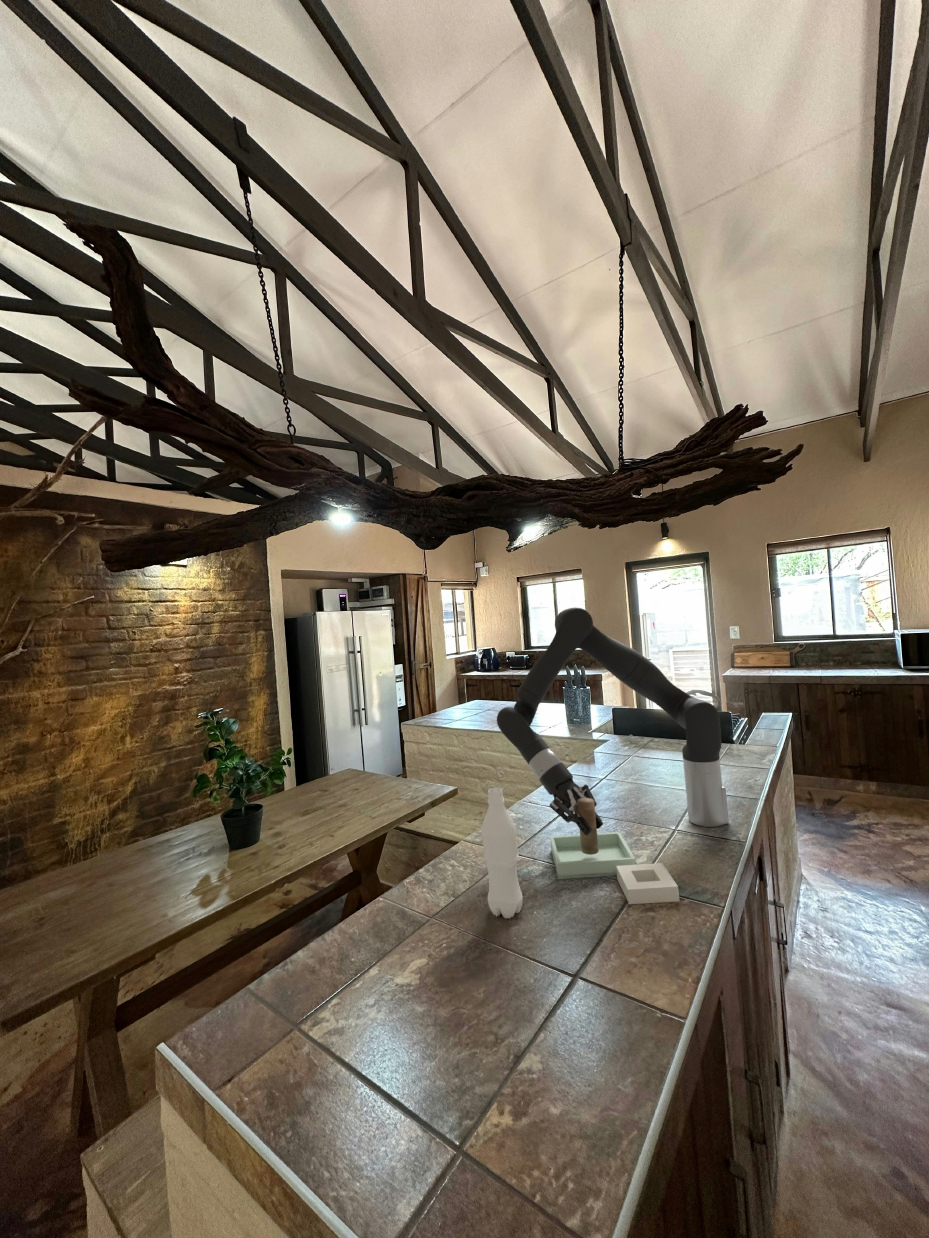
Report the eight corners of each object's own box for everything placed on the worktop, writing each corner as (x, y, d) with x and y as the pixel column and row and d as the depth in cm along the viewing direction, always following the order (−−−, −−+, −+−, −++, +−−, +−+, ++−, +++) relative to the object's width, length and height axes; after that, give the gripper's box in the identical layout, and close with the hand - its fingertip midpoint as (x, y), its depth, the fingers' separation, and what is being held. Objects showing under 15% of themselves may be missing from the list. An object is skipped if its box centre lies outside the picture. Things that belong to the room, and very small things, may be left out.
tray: (620, 845, 130) (619, 832, 130) (637, 874, 115) (635, 858, 115) (551, 850, 131) (550, 836, 131) (558, 879, 116) (557, 863, 116)
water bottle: (483, 917, 103) (471, 794, 104) (497, 899, 110) (486, 783, 110) (515, 924, 100) (504, 797, 100) (528, 905, 106) (517, 785, 107)
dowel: (596, 846, 125) (592, 797, 125) (600, 853, 121) (595, 803, 121) (580, 847, 125) (575, 798, 125) (583, 854, 121) (578, 804, 121)
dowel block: (663, 876, 113) (661, 862, 113) (679, 901, 103) (678, 886, 103) (617, 879, 114) (616, 865, 114) (629, 904, 104) (627, 889, 104)
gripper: (539, 769, 124) (586, 831, 115) (574, 755, 133) (620, 811, 124) (525, 787, 128) (568, 848, 119) (560, 772, 137) (603, 828, 128)
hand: (594, 829), depth 121 cm, fingers closed on dowel, 4 cm apart
